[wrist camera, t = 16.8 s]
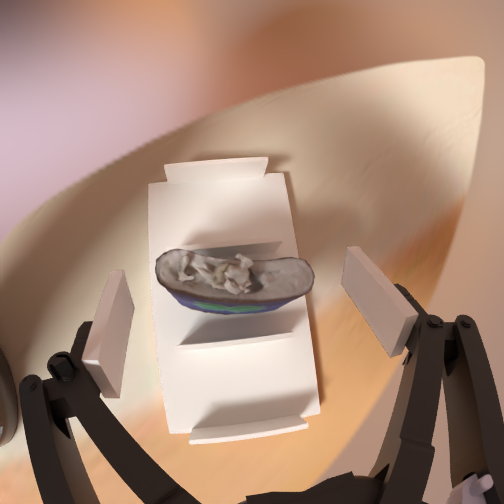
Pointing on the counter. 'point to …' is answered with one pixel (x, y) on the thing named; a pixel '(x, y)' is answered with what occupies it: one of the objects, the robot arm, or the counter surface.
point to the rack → (229, 326)
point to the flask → (232, 281)
